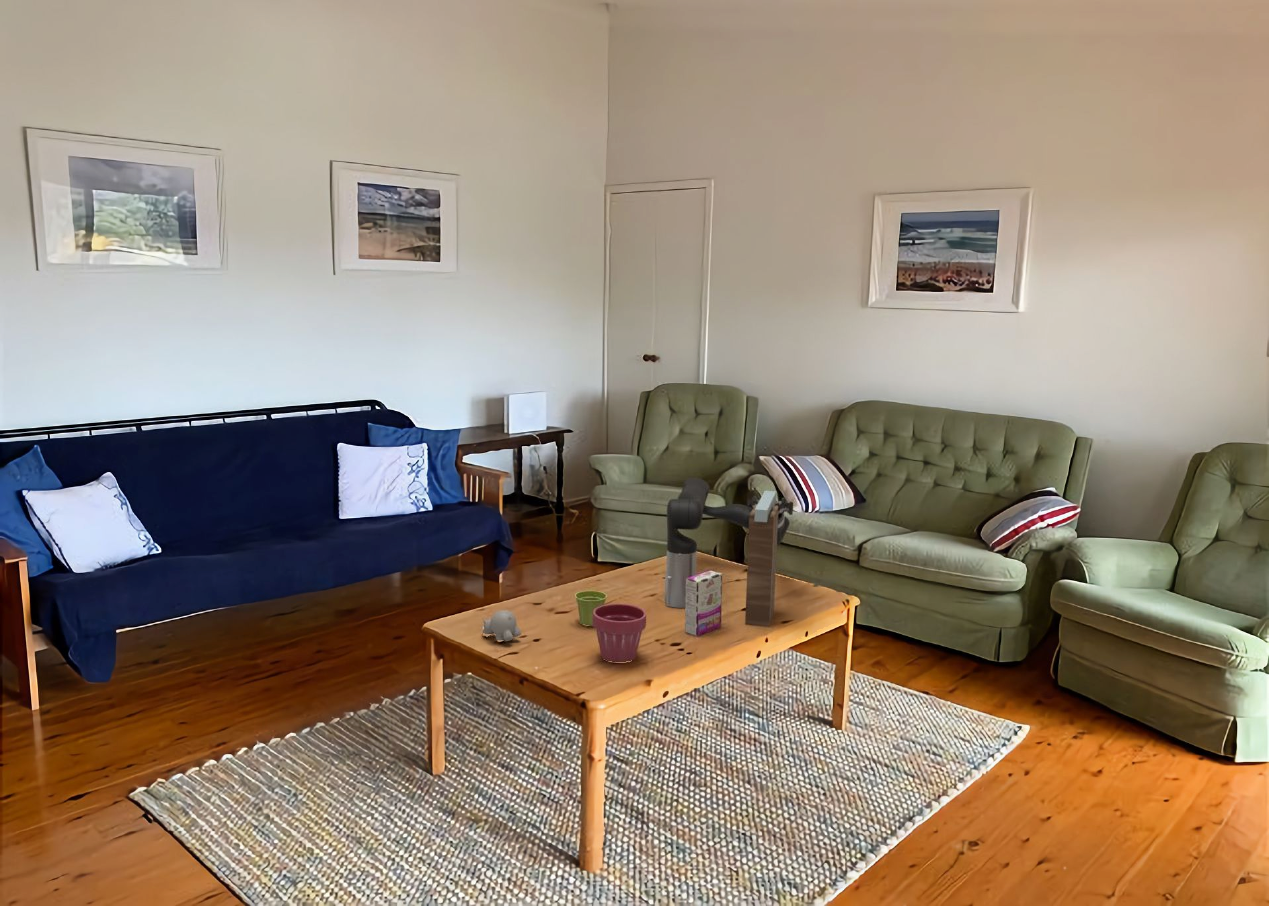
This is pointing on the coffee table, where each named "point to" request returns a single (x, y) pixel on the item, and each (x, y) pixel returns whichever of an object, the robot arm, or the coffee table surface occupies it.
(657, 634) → the coffee table surface
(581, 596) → the plant pot
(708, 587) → the candy bar box
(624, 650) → the plant pot
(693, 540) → the robot arm
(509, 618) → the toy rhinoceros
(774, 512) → the post
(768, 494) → the rail
